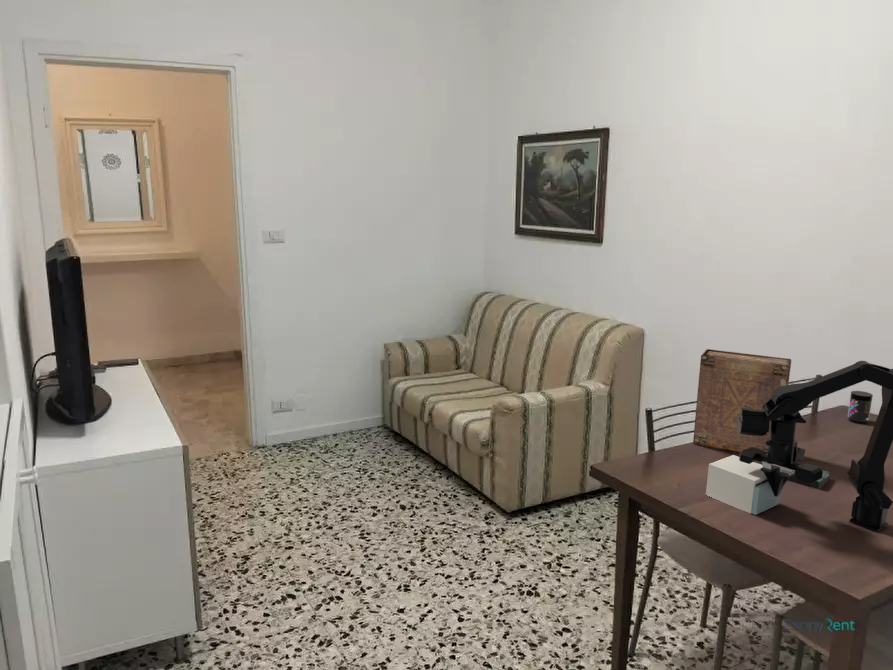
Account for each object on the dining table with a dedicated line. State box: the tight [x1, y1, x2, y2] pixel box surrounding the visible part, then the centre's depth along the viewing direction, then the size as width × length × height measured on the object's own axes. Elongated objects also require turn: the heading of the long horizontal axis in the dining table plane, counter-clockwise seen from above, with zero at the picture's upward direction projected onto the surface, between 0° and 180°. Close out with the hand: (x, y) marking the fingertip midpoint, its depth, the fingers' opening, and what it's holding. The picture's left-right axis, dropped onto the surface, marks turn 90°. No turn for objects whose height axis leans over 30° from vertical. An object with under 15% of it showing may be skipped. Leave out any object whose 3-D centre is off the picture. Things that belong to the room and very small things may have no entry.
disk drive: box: [787, 462, 831, 490], centre depth 197 cm, size 10×3×15 cm
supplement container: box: [847, 390, 873, 424], centre depth 245 cm, size 7×7×10 cm
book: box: [692, 348, 792, 456], centre depth 215 cm, size 25×9×30 cm, turn 61°
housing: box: [705, 454, 768, 515], centre depth 181 cm, size 13×11×9 cm
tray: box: [752, 481, 783, 516], centre depth 180 cm, size 13×11×7 cm
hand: (776, 496), depth 173 cm, fingers closed
